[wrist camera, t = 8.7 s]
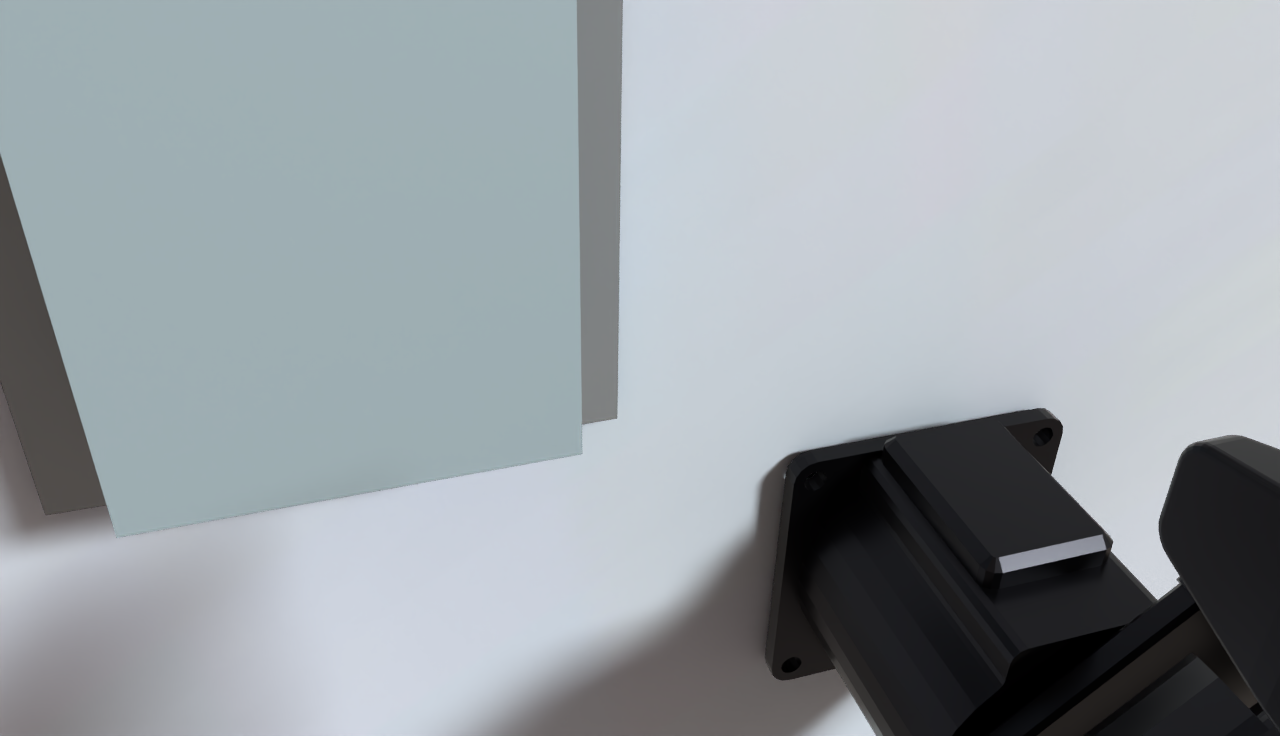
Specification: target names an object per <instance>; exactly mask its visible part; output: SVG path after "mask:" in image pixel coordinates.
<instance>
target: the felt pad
mask: <svg viewBox="0 0 1280 736" xmlns="http://www.w3.org/2000/svg"><path fill="white" fill-rule="evenodd" d="M622 8H623V0H577V66H578V147H579V227H580V308H581V388H582V424H587V423H593V422H599V421H605V420H611V419H617V397H618V319H619V241H620V164H621V86H622ZM0 381H1V384H2V387H3V390H4V393H5V396H6V399H7V402H8V405H9V408H10V411H11V414H12V417H13V420H14V423H15V426H16V429H17V432H18V435H19V438H20V441H21V444H22V447H23V450H24V453H25V456H26V459H27V462H28V465H29V468H30V471H31V474H32V477H33V480H34V483H35V486H36V489H37V492H38V495H39V498H40V501H41V504H42V507H43V510H44V513H45V515H51V514H57V513H63V512H69V511H75V510H81V509H87V508H93V507H98V506H104V505H106V501H105V498H104V495H103V491H102V488H101V485H100V482H99V478H98V475H97V472H96V468H95V465H94V462H93V458H92V455H91V452H90V448H89V445H88V442H87V439H86V435H85V432H84V429H83V425H82V422H81V419H80V415H79V412H78V409H77V405H76V402H75V399H74V396H73V392H72V389H71V386H70V382H69V379H68V376H67V372H66V369H65V366H64V363H63V359H62V356H61V353H60V349H59V346H58V343H57V339H56V336H55V333H54V329H53V326H52V323H51V320H50V316H49V313H48V310H47V306H46V303H45V300H44V296H43V293H42V290H41V287H40V283H39V280H38V277H37V273H36V270H35V267H34V263H33V260H32V257H31V253H30V250H29V247H28V244H27V240H26V237H25V234H24V230H23V227H22V224H21V220H20V217H19V214H18V210H17V207H16V204H15V201H14V197H13V194H12V191H11V187H10V184H9V181H8V177H7V174H6V171H5V168H4V164H3V161H2V158H1V154H0Z"/></svg>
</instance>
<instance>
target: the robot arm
mask: <svg viewBox="0 0 1280 736" xmlns="http://www.w3.org/2000/svg"><path fill="white" fill-rule="evenodd" d="M1062 433H1063V426H1062V424H1061V422H1060V421H1059V420H1058V419H1057V418H1056V417H1055V416H1054V415H1053V414H1052V413H1051V412H1050V411H1048V410H1046V409H1045V408H1037V409H1032V410H1026V411H1021V412H1015V413H1010V414H1005V415H999V416H994V417H989V418H983V419H978V420H972V421H967V422H962V423H956V424H951V425H946V426H940V427H935V428H929V429H924V430H919V431H913V432H908V433H902V434H897V435H892V436H886V437H881V438H876V439H870V440H865V441H859V442H854V443H849V444H843V445H838V446H833V447H827V448H822V449H816V450H811V451H808V452H805V453H802V454H800V455H799V456H798V457H796V458H795V459H794V460H793V461H792V462H791V463H790V465H789V466H788V469H787V472H786V477H785V486H784V494H783V503H782V512H781V521H780V530H779V538H778V547H777V556H776V565H775V573H774V582H773V591H772V600H771V609H770V617H769V626H768V635H767V644H766V653H765V660H766V664H767V666H768V667H769V669H770V671H771V673H772V675H773V676H774V677H775V678H776V679H779V680H790V679H794V678H798V677H802V676H807V675H811V674H815V673H819V672H823V671H827V670H831V669H837V671H838V673H839V674H840V676H841V678H842V679H843V681H844V683H845V684H846V686H847V688H848V689H849V691H850V693H851V694H852V696H853V698H854V699H855V701H856V703H857V704H858V706H859V708H860V710H861V711H862V713H863V715H864V716H865V718H866V720H867V721H868V723H869V725H870V726H871V728H872V730H873V731H874V733H875V735H876V736H1280V449H1277V448H1274V447H1271V446H1269V445H1266V444H1263V443H1261V442H1258V441H1255V440H1252V439H1250V438H1247V437H1244V436H1238V435H1227V436H1222V437H1218V438H1213V439H1208V440H1203V441H1199V442H1195V443H1193V444H1191V445H1189V446H1188V447H1187V448H1186V449H1185V450H1184V451H1183V452H1182V454H1181V456H1180V458H1179V460H1178V463H1177V466H1176V469H1175V472H1174V475H1173V478H1172V481H1171V485H1170V488H1169V491H1168V494H1167V497H1166V500H1165V503H1164V506H1163V509H1162V512H1161V515H1160V519H1159V535H1160V540H1161V543H1162V546H1163V549H1164V551H1165V552H1166V554H1167V556H1168V558H1169V559H1170V561H1171V563H1172V564H1173V566H1174V567H1175V569H1176V571H1177V572H1178V574H1179V576H1180V577H1178V578H1177V581H1178V582H1179V584H1178V585H1177V586H1176V587H1174V588H1173V589H1172V590H1170V591H1169V592H1168V593H1167V594H1165V595H1164V596H1163V597H1161V598H1160V599H1159V600H1157V599H1156V598H1155V597H1154V596H1153V595H1152V594H1151V593H1150V592H1149V591H1148V590H1147V589H1146V588H1145V587H1144V586H1143V584H1142V583H1141V582H1140V581H1139V580H1138V579H1137V578H1136V577H1135V576H1134V575H1133V574H1132V573H1131V572H1130V571H1129V570H1128V569H1127V568H1126V567H1125V566H1124V565H1123V564H1122V562H1121V561H1120V560H1119V559H1118V558H1117V557H1116V556H1115V555H1114V554H1113V553H1112V552H1111V548H1112V544H1113V540H1112V539H1111V537H1110V535H1109V534H1108V533H1107V532H1106V531H1105V530H1104V529H1103V528H1102V527H1101V526H1100V525H1099V524H1098V523H1097V522H1096V521H1095V520H1094V519H1093V518H1092V517H1091V516H1090V515H1089V514H1088V513H1087V512H1086V511H1085V510H1084V509H1083V508H1082V507H1081V506H1080V504H1079V503H1078V502H1077V501H1076V500H1075V499H1074V498H1073V497H1072V496H1071V495H1070V494H1069V493H1068V492H1067V491H1066V490H1065V489H1064V488H1063V487H1062V486H1061V485H1060V484H1059V483H1058V482H1057V481H1056V480H1055V479H1054V478H1053V477H1052V476H1051V474H1052V470H1053V466H1054V463H1055V459H1056V455H1057V452H1058V448H1059V444H1060V441H1061V437H1062ZM816 471H817V473H816V474H815V475H814V476H813V477H811V478H808V479H806V478H807V477H808V476H809V475H810V474H811V473H814V472H816Z"/></svg>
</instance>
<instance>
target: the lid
mask: <svg viewBox="0 0 1280 736" xmlns="http://www.w3.org/2000/svg"><path fill="white" fill-rule="evenodd" d="M0 154H1V158H2V161H3V164H4V168H5V171H6V174H7V177H8V181H9V184H10V187H11V191H12V194H13V197H14V201H15V204H16V207H17V210H18V214H19V217H20V220H21V224H22V227H23V230H24V234H25V237H26V240H27V244H28V247H29V250H30V253H31V257H32V260H33V263H34V267H35V270H36V273H37V277H38V280H39V283H40V287H41V290H42V293H43V296H44V300H45V303H46V306H47V310H48V313H49V316H50V320H51V323H52V326H53V329H54V333H55V336H56V339H57V343H58V346H59V349H60V353H61V356H62V359H63V363H64V366H65V369H66V372H67V376H68V379H69V382H70V386H71V389H72V392H73V396H74V399H75V402H76V405H77V409H78V412H79V415H80V419H81V422H82V425H83V429H84V432H85V435H86V439H87V442H88V445H89V448H90V452H91V455H92V458H93V462H94V465H95V468H96V472H97V475H98V478H99V482H100V485H101V488H102V491H103V495H104V498H105V501H106V505H107V508H108V511H109V515H110V518H111V521H112V524H113V528H114V531H115V534H116V538H120V537H125V536H131V535H136V534H142V533H147V532H153V531H158V530H164V529H169V528H175V527H181V526H186V525H192V524H197V523H203V522H208V521H214V520H219V519H225V518H231V517H236V516H242V515H247V514H253V513H258V512H264V511H269V510H275V509H280V508H286V507H292V506H297V505H303V504H308V503H314V502H319V501H325V500H330V499H336V498H342V497H347V496H353V495H358V494H364V493H369V492H375V491H380V490H386V489H391V488H397V487H403V486H408V485H414V484H419V483H425V482H430V481H436V480H441V479H447V478H453V477H458V476H464V475H469V474H475V473H480V472H486V471H491V470H497V469H503V468H508V467H514V466H519V465H525V464H530V463H536V462H541V461H547V460H552V459H558V458H564V457H569V456H575V455H580V454H582V388H581V308H580V227H579V147H578V66H577V0H0Z"/></svg>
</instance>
